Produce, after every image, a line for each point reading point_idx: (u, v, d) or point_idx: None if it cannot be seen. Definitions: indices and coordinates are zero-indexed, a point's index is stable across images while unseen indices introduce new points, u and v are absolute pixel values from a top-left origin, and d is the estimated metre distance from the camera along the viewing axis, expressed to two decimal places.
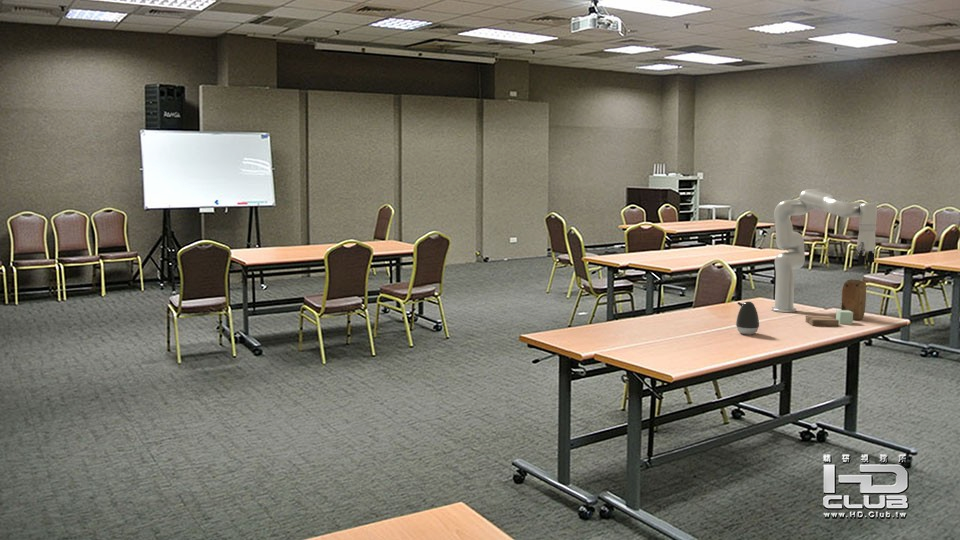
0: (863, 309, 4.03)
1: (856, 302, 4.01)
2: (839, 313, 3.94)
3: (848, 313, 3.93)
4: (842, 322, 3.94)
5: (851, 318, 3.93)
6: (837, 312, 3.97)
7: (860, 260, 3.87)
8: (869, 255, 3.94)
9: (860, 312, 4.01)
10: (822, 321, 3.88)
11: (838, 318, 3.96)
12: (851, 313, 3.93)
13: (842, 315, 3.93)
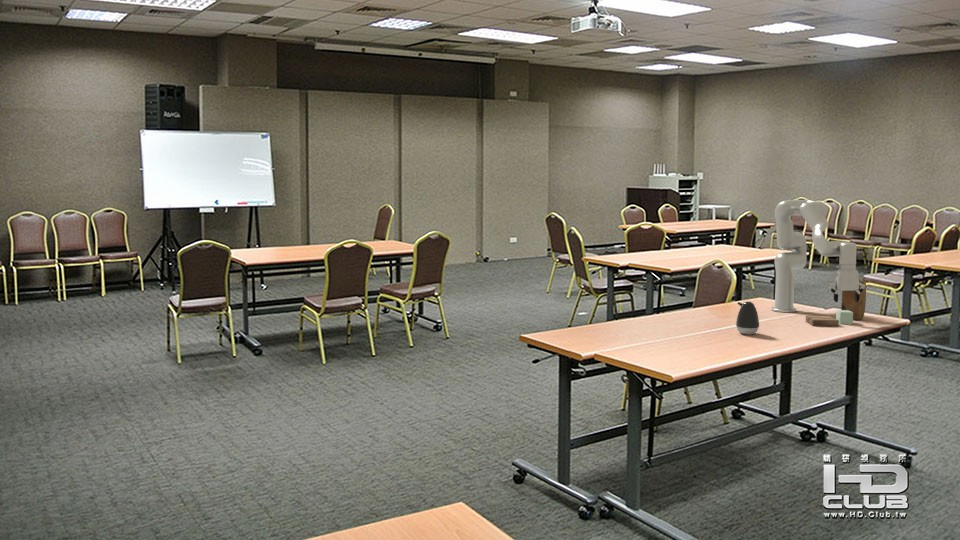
0: (863, 309, 4.03)
1: (856, 302, 4.01)
2: (839, 313, 3.94)
3: (848, 313, 3.93)
4: (842, 322, 3.94)
5: (851, 318, 3.93)
6: (837, 312, 3.97)
7: None
8: None
9: (860, 312, 4.01)
10: (822, 321, 3.88)
11: (838, 318, 3.96)
12: (851, 313, 3.93)
13: (842, 315, 3.93)
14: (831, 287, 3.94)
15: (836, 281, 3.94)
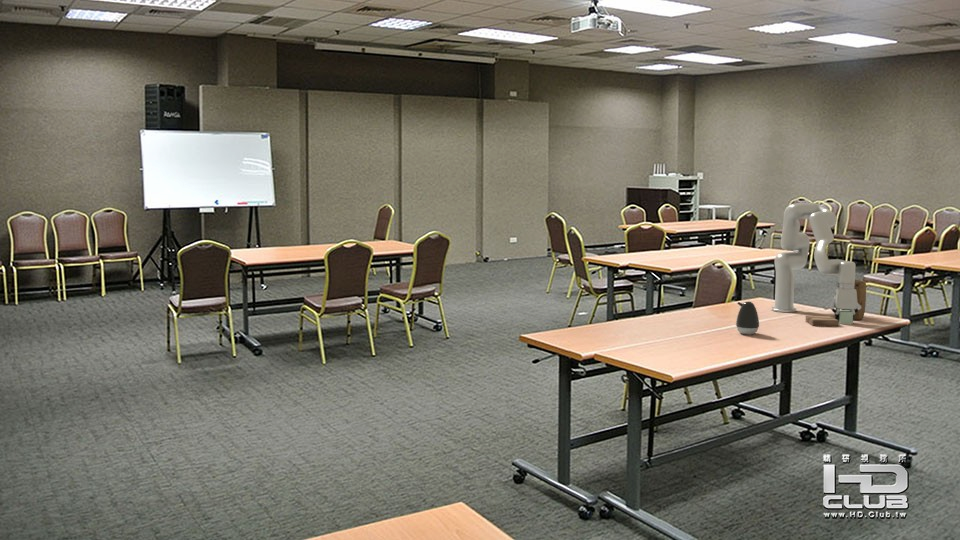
0: (863, 309, 4.03)
1: None
2: (839, 313, 3.94)
3: (848, 313, 3.93)
4: (842, 322, 3.93)
5: (851, 318, 3.93)
6: None
7: None
8: None
9: (860, 312, 4.01)
10: (822, 321, 3.88)
11: None
12: (851, 313, 3.93)
13: (842, 315, 3.93)
14: (832, 308, 3.96)
15: (835, 300, 3.95)
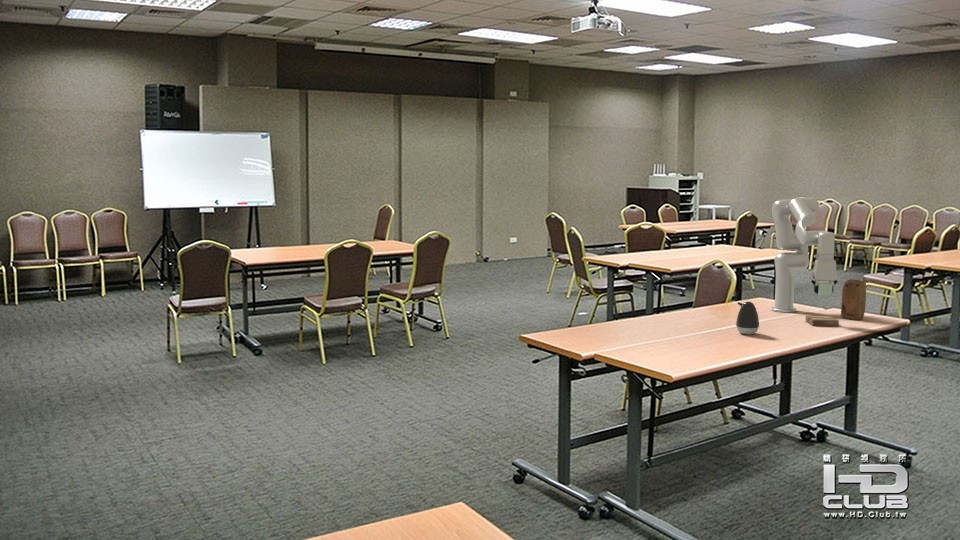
0: (863, 309, 4.03)
1: (856, 302, 4.01)
2: (818, 284, 3.90)
3: (827, 284, 3.88)
4: (821, 293, 3.89)
5: (830, 289, 3.88)
6: None
7: None
8: None
9: (860, 312, 4.01)
10: (822, 321, 3.88)
11: None
12: (830, 284, 3.88)
13: (821, 286, 3.89)
14: (811, 279, 3.91)
15: (814, 272, 3.91)
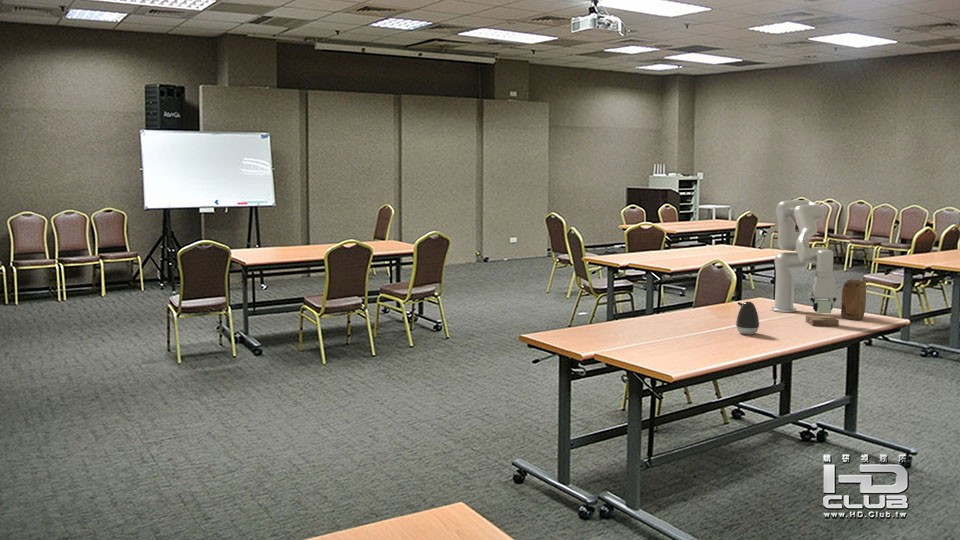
0: (863, 309, 4.03)
1: (856, 302, 4.01)
2: (817, 302, 3.91)
3: (826, 302, 3.89)
4: (820, 311, 3.90)
5: (829, 307, 3.89)
6: None
7: None
8: None
9: (860, 312, 4.01)
10: (822, 321, 3.88)
11: None
12: (829, 302, 3.89)
13: (820, 304, 3.89)
14: (810, 297, 3.92)
15: (813, 289, 3.92)
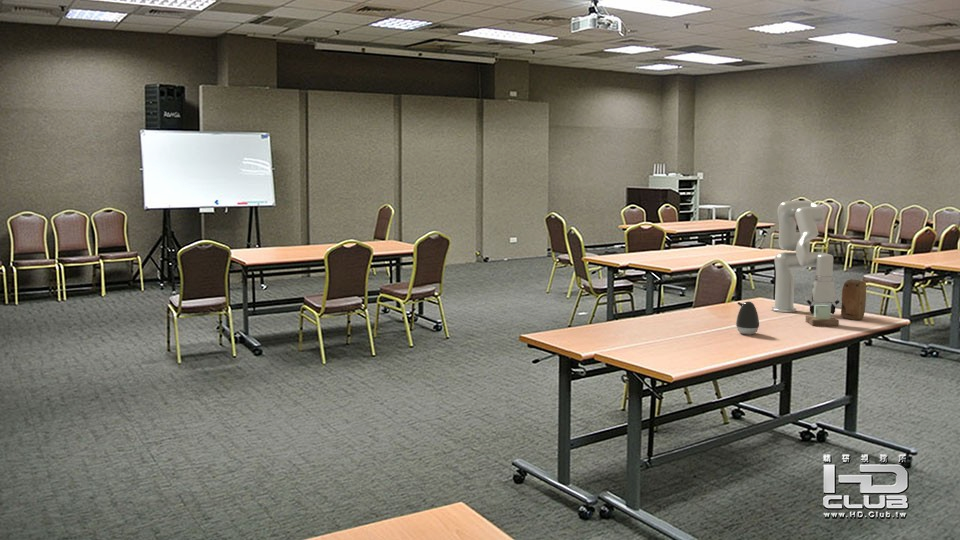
0: (863, 309, 4.03)
1: (856, 302, 4.01)
2: (817, 308, 3.91)
3: (826, 308, 3.90)
4: (820, 317, 3.90)
5: (829, 313, 3.90)
6: (815, 307, 3.94)
7: None
8: None
9: (860, 312, 4.01)
10: (822, 321, 3.88)
11: (816, 313, 3.93)
12: (829, 308, 3.89)
13: (819, 310, 3.90)
14: (807, 299, 3.92)
15: (812, 293, 3.92)
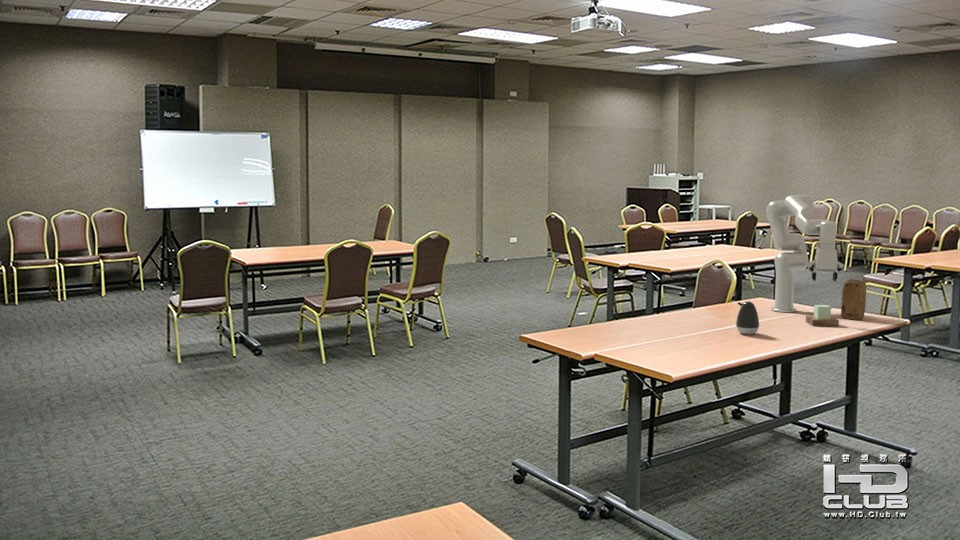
0: (863, 309, 4.03)
1: (856, 302, 4.01)
2: (817, 308, 3.91)
3: (826, 308, 3.90)
4: (820, 317, 3.90)
5: (829, 313, 3.90)
6: (815, 307, 3.94)
7: None
8: None
9: (860, 312, 4.01)
10: (822, 321, 3.88)
11: (816, 313, 3.93)
12: (829, 308, 3.89)
13: (819, 310, 3.90)
14: (809, 266, 3.95)
15: (815, 260, 3.95)
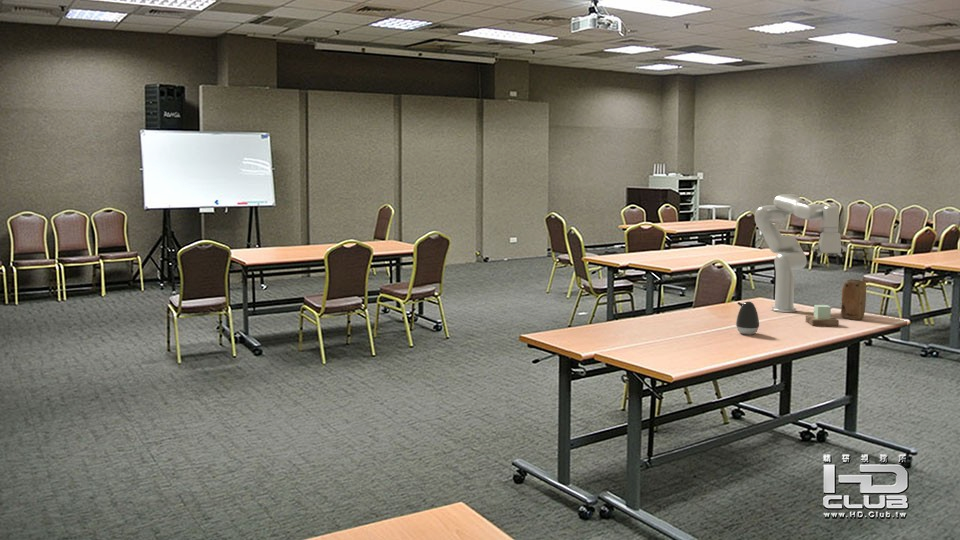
0: (863, 309, 4.03)
1: (856, 302, 4.01)
2: (817, 308, 3.91)
3: (826, 308, 3.90)
4: (820, 317, 3.90)
5: (829, 313, 3.90)
6: (815, 307, 3.94)
7: None
8: None
9: (860, 312, 4.01)
10: (822, 321, 3.88)
11: (816, 313, 3.93)
12: (829, 308, 3.89)
13: (819, 310, 3.90)
14: (814, 250, 4.02)
15: (819, 244, 4.01)
